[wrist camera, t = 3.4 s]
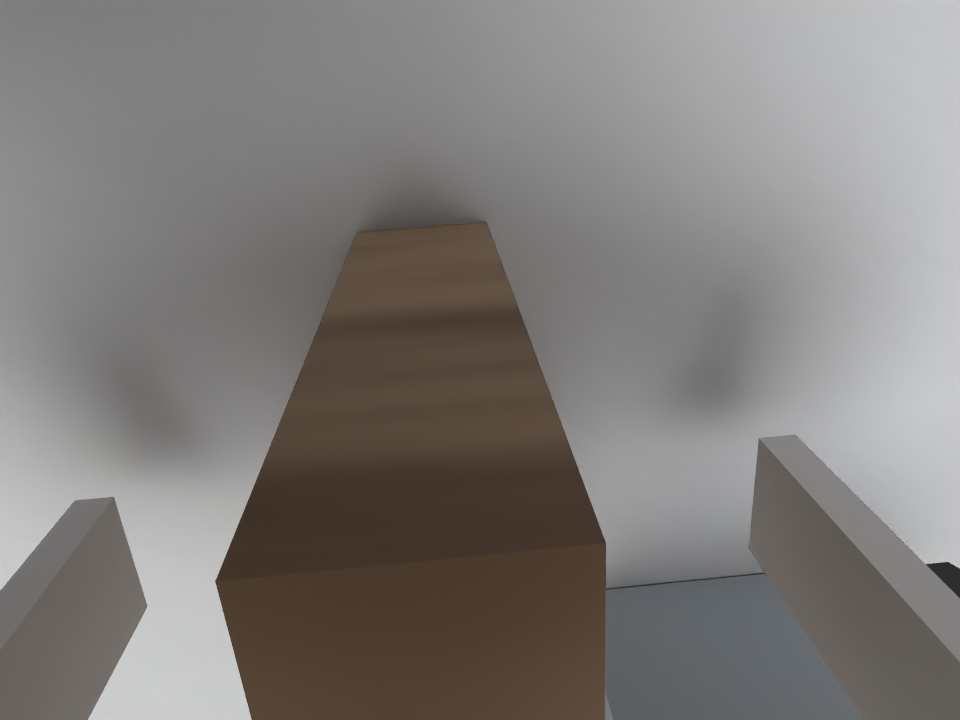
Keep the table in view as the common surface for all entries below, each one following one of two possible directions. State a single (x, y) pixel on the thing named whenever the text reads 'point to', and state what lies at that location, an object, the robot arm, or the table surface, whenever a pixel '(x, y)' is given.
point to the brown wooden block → (419, 510)
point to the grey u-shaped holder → (714, 655)
